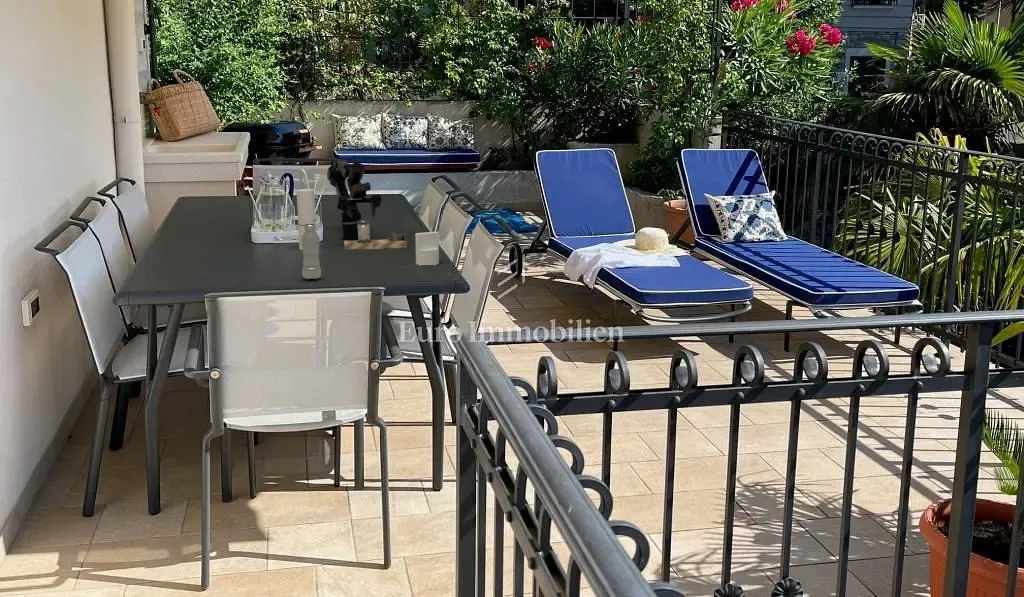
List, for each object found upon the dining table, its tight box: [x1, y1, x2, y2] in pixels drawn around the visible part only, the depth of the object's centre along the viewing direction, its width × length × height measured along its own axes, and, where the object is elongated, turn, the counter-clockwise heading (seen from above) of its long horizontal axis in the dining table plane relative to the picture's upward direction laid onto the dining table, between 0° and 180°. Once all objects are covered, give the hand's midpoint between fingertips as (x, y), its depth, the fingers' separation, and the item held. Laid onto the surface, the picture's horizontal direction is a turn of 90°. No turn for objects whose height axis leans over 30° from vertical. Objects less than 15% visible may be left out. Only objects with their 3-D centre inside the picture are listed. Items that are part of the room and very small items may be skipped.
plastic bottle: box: [301, 224, 322, 280], centre depth 363 cm, size 6×7×20 cm
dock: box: [343, 232, 408, 251], centre depth 428 cm, size 26×8×6 cm, turn 101°
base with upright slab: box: [414, 231, 440, 266], centre depth 392 cm, size 9×9×12 cm
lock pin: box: [388, 233, 407, 241], centre depth 429 cm, size 7×2×2 cm, turn 101°
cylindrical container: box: [296, 188, 317, 251], centre depth 419 cm, size 7×7×25 cm
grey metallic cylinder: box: [357, 219, 371, 243], centre depth 426 cm, size 5×5×12 cm
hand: (363, 217), depth 424 cm, fingers open, 9 cm apart
